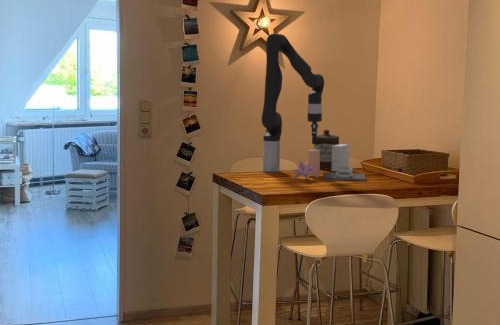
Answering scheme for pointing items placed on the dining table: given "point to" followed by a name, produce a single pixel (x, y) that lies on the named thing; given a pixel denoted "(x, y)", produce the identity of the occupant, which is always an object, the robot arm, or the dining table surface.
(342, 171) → the collar stand
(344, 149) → the skincare box
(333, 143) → the labeled lidded canister
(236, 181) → the dining table surface
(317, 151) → the pink rectangular block
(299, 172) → the lily
